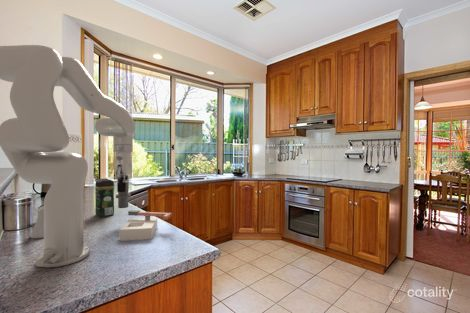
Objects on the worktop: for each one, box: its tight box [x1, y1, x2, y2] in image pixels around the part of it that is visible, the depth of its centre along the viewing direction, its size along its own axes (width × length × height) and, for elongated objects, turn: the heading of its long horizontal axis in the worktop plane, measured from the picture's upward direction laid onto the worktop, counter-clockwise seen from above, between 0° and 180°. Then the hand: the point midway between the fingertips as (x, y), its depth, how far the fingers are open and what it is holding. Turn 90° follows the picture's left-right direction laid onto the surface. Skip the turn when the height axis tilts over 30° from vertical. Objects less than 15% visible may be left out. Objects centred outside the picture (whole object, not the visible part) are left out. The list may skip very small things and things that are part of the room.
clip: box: [127, 209, 173, 220], centre depth 93 cm, size 18×6×2 cm, turn 83°
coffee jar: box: [94, 177, 115, 218], centre depth 116 cm, size 10×8×19 cm
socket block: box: [118, 216, 158, 242], centre depth 89 cm, size 14×11×6 cm
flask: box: [29, 209, 44, 239], centre depth 86 cm, size 7×7×10 cm
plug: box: [115, 179, 132, 209], centre depth 99 cm, size 6×6×12 cm
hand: (123, 190), depth 99 cm, fingers closed on plug, 4 cm apart
